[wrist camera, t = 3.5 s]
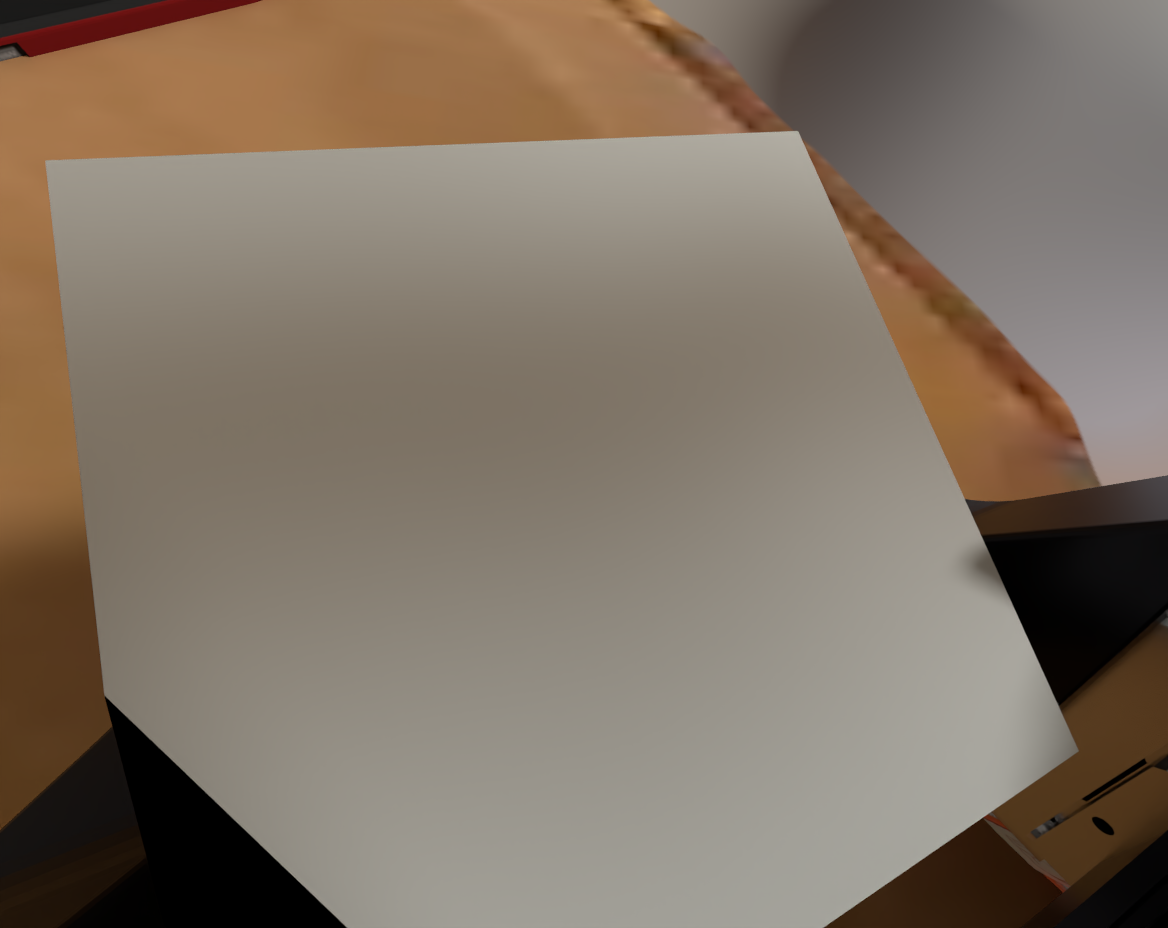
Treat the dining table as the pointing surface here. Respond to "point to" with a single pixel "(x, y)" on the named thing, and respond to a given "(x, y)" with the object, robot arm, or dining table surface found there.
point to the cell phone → (89, 21)
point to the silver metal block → (523, 540)
